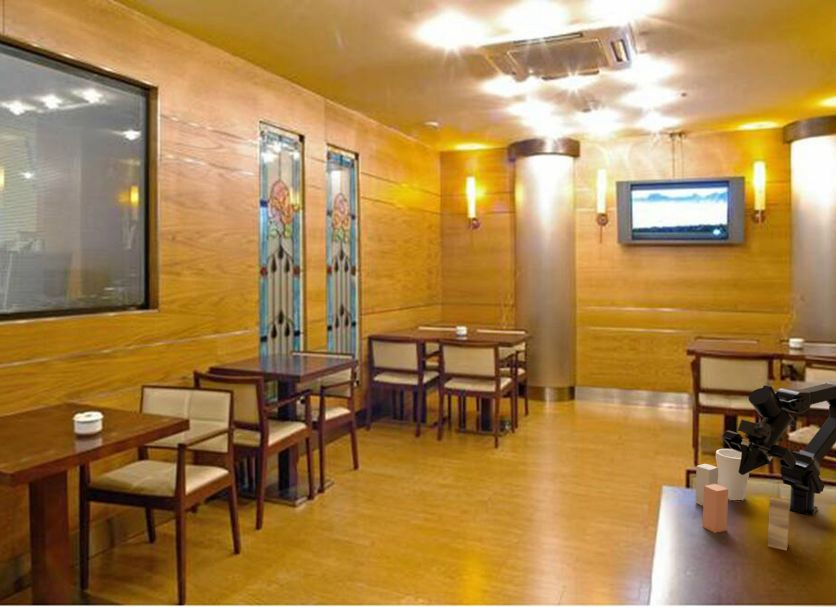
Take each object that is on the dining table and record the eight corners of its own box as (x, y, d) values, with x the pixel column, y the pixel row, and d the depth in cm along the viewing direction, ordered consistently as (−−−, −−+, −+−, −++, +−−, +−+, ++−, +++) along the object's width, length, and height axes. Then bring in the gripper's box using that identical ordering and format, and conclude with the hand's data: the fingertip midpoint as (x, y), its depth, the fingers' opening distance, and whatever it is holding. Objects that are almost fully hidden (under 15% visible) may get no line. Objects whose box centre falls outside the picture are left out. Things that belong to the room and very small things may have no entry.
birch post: (769, 540, 156) (771, 497, 156) (787, 544, 154) (789, 500, 153) (767, 546, 153) (769, 502, 152) (786, 550, 151) (788, 506, 150)
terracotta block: (713, 524, 166) (715, 483, 165) (726, 530, 162) (728, 488, 161) (702, 526, 164) (704, 485, 163) (715, 533, 160) (716, 491, 160)
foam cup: (754, 504, 179) (756, 459, 178) (719, 501, 181) (721, 457, 180) (744, 492, 188) (745, 449, 187) (711, 489, 190) (712, 447, 189)
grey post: (704, 500, 182) (705, 463, 181) (716, 505, 178) (718, 467, 177) (695, 503, 180) (696, 465, 179) (708, 508, 176) (709, 469, 175)
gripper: (727, 401, 174) (696, 445, 171) (790, 417, 157) (757, 466, 154) (747, 426, 178) (716, 469, 175) (810, 444, 161) (778, 492, 157)
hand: (740, 473), depth 165 cm, fingers closed
